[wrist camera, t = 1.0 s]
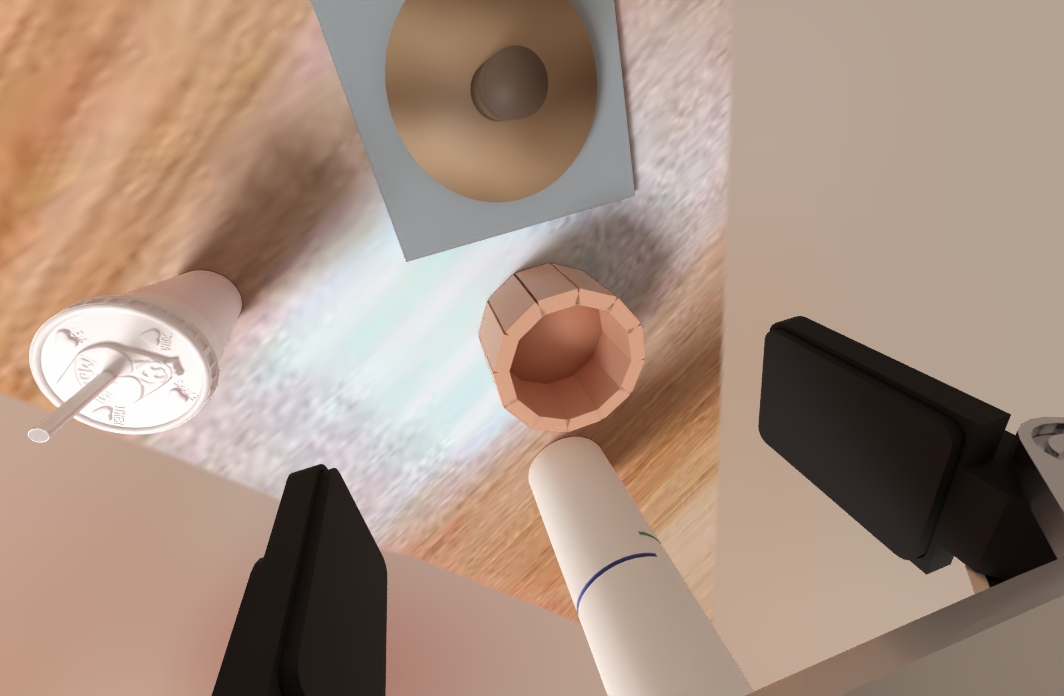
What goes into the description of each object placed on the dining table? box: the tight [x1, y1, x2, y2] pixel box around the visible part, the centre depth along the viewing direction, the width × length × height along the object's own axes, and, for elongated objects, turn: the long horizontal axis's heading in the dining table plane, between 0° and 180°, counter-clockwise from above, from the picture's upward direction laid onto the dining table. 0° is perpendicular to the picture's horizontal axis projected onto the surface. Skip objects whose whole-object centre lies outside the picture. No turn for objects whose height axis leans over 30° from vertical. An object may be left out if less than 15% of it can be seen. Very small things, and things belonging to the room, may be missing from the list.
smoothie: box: [28, 270, 242, 442], centre depth 22 cm, size 6×6×14 cm
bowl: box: [478, 263, 646, 432], centre depth 32 cm, size 10×10×6 cm
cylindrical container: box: [529, 437, 754, 696], centre depth 30 cm, size 7×7×25 cm
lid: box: [385, 0, 597, 203], centre depth 24 cm, size 12×12×6 cm
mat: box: [311, 0, 635, 262], centre depth 27 cm, size 16×16×1 cm
